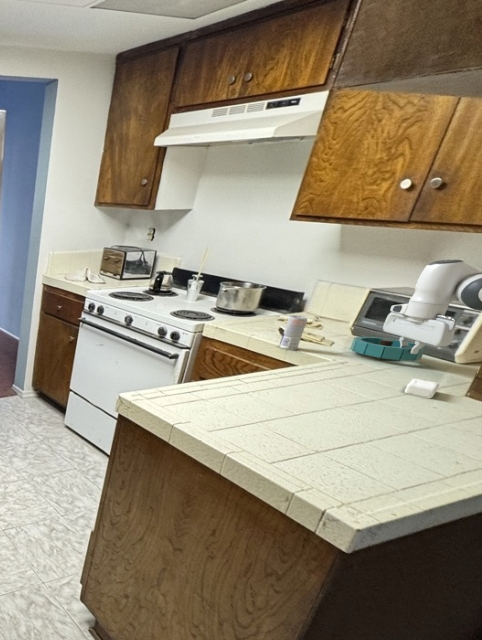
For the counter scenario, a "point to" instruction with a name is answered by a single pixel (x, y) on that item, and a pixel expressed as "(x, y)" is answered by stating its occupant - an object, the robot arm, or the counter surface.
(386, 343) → the peg stand
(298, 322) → the energy drink
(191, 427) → the counter surface
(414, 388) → the soap
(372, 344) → the ring
